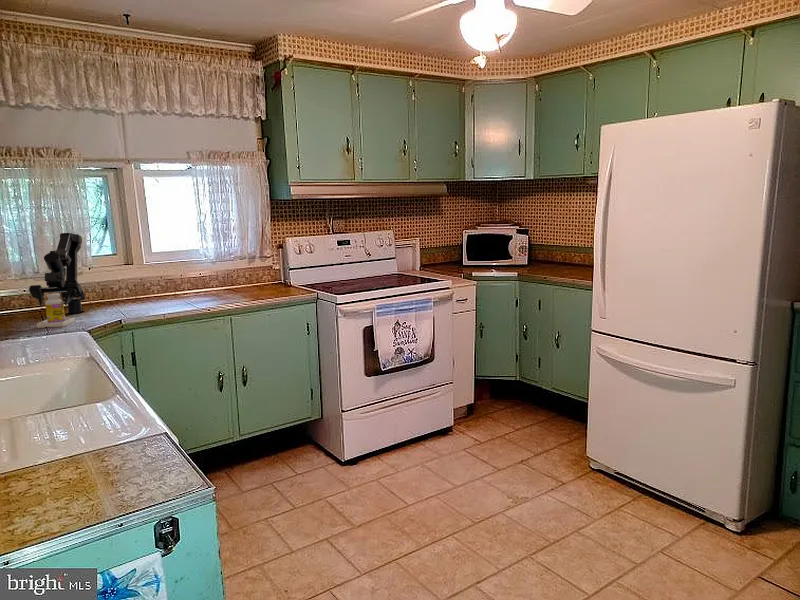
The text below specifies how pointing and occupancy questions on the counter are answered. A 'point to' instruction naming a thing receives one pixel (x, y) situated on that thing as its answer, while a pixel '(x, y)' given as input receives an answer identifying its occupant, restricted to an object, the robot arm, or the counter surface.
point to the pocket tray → (55, 323)
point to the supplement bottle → (54, 308)
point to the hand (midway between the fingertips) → (53, 305)
